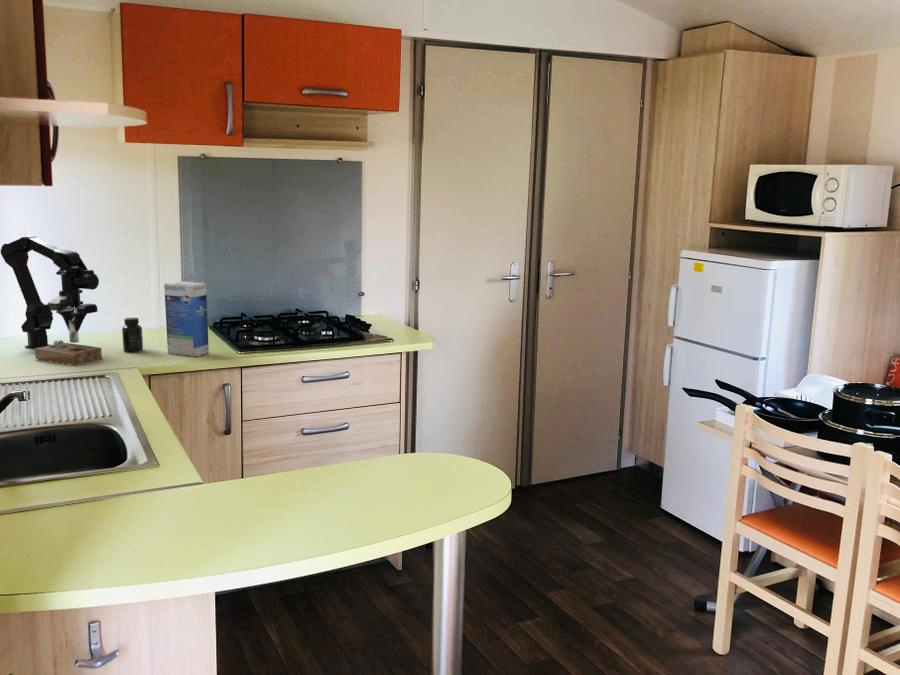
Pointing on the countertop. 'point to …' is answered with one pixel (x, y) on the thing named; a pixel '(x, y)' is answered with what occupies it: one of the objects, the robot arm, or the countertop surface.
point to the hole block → (69, 353)
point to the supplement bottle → (132, 335)
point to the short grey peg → (58, 344)
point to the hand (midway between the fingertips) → (73, 330)
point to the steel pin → (73, 332)
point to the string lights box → (186, 318)
